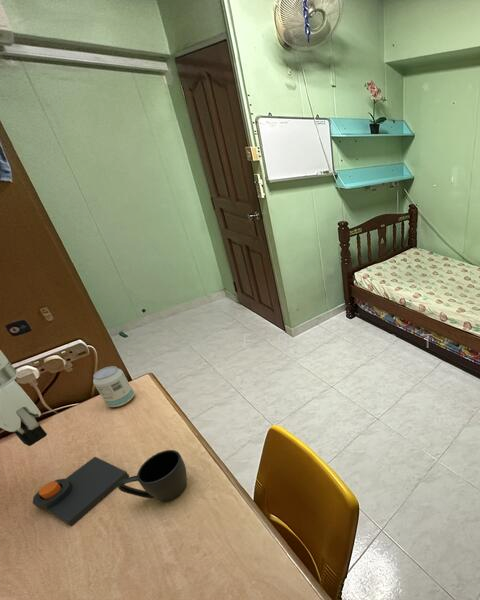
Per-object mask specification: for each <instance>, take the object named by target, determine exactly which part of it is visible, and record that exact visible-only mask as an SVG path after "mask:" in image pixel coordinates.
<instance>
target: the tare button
mask: <svg viewBox="0 0 480 600" xmlns="http://www.w3.org/2000/svg"><path fill="white" fill-rule="evenodd" d="M60 490H61V486H60V485H59V484H58V483H57V482H55V480H53V481H50V482H48V483H46V484H44V485H43V486H42V487H41V488H39V490H38V491H39V494H40V495H41V496H42V497H43V498H44V499H49V498H51V497H53V496H54V495H56V494H57V493H58V492H59V491H60Z"/></svg>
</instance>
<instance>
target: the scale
mask: <svg viewBox="0 0 480 600" xmlns="http://www.w3.org/2000/svg"><path fill="white" fill-rule="evenodd" d="M128 477H130V475H129V473H128V472H127V471H125V470H123V469H122V468H120V467H118V466H115V465H113V464H111V463H109V462H107V461H105V460H103V459H101V458H99V457H97V456H94V457H92V458H91V459H90V460H88V461H87V462H85V463H84V464H82V466H80V467H79V468H78V469H76V470H74V472H73V473H71V474H70V475H68V476H67V477H65V478H59V479H55V480H54V481H55V482H57V483H58V484H59V485H60V486H61V490H60V491H59V492H58V493H57V494H56V495H54V496H53V497H51V498H49V499H44V498H43V497H42V496H41V495H40V494H39V490H38V491H37V492H36V493H35V495H34V496H33V498H32V504H33V506H35V507H36V508H38V509H39V510H44V511H45V512H47V513H49V514H50V515H52V516H54V518H55V517H56V518H57V519H59V520H60V521H62V522H64V523H65V524H67V525H68V526H70V527H73V526H74V525H75V524H77V523H78V522H79V521H80V520H81V519H82V518H84V516H86V515H87V514H88V513H89V512H90V511H91V510H93V509H94V508H95V507H96V506H98V505H99V504H100V503H101V502H102V501H103V500H104V499H106V497H108V496H110V494H111V493H113V491H115V489H117V488H118V483H119V482H120V481H121V480H123V479H125V478H128Z"/></svg>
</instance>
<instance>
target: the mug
mask: <svg viewBox="0 0 480 600" xmlns="http://www.w3.org/2000/svg"><path fill="white" fill-rule="evenodd" d="M186 467H187V466H186V464H185V461H184V460H183V457H182V455H181V454H180V452H178V451H177V450H175V449H167V450H163V451H160V452H157V453H156V454H153V455H152V456H150V457H149V458H147V459H146V460H145V461H144V462H143V464H141V466H140V468H139V469H138V471H137V474H136V475H132V476H129V477H128V478H125V479H123V480H121V481H120V482H119V483H118V487H117V488H118V490H119V491H121V492H123V493H126V494H129V495H132V496H137V497H140V498H145V499H157V500H160V501H161V502H165V503H167V502H168V503H169V502H173V501H174V500H176V499H177V498H179V497H180V496H181V495H182V494H183V493H184V492H185V490H186V488H187V468H186ZM133 482H138V483H139V484H140V486H141V487H142V490H141V489H139V488H134V487H132V486H129V485H126V484H129V483H133Z"/></svg>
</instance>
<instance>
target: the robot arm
mask: <svg viewBox="0 0 480 600" xmlns="http://www.w3.org/2000/svg"><path fill="white" fill-rule="evenodd" d="M18 376H19V373H18V371H17V370H16V369H15V367H14V366H13V365H12V363H11V362H10V360H9V359H8V358H7V356H6V355H5V354H4V352H3V351H2V350H1V349H0V429H2V430H4V431H6V432H9V433H14V434H15V435H16V436H17V438H18V439H19V440H20V441H21V442H22V443H23V444H24V445H26V446H28V447H31V446H33V445H35V444H36V443H38V442H39V441H41V440H42V439H44V438H46V437H47V435H48V433H47V431H45V430H44V428H43V427H42V426H41V425H40V423H39V422H38V420H36V418H40V417H41V415H42V413H41V411H40V409H39V408H38V407H37V405H36V404H35V402H34V401H33V400H32V399H31V397H29V395H28V394H27V393H26V392H25V390H24V389H23V387H22V386H21V385H20V384H19V383H17V381H16V378H17V377H18Z"/></svg>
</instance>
